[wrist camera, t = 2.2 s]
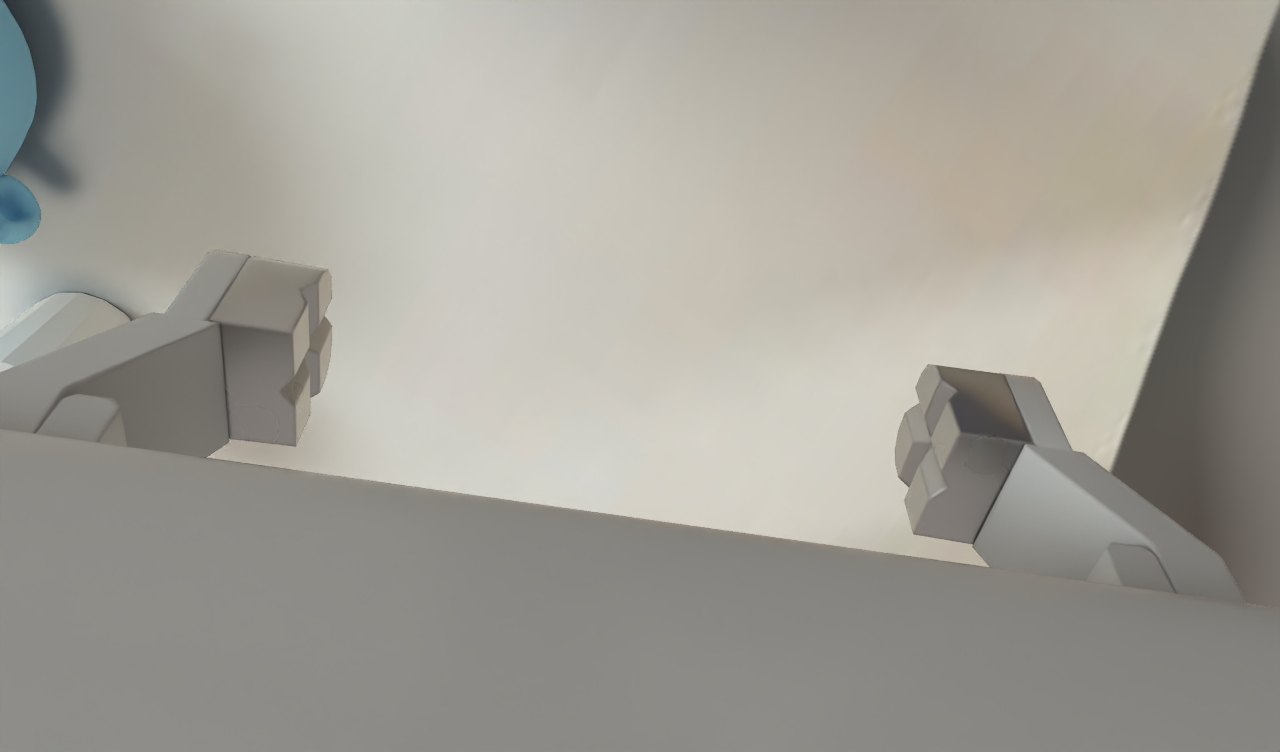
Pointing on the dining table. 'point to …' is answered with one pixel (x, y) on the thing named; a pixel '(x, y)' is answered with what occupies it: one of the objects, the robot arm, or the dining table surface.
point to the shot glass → (56, 326)
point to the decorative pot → (15, 129)
